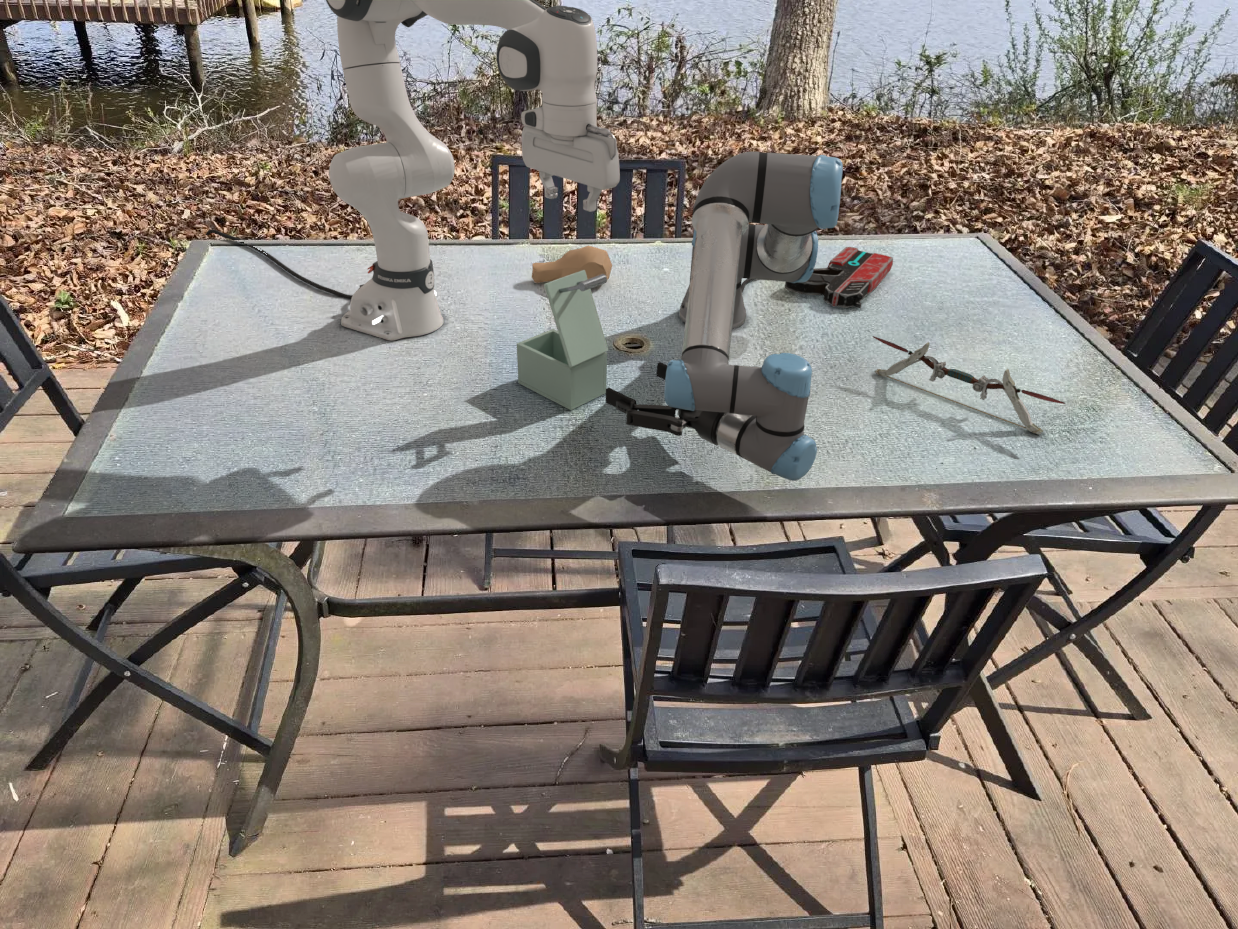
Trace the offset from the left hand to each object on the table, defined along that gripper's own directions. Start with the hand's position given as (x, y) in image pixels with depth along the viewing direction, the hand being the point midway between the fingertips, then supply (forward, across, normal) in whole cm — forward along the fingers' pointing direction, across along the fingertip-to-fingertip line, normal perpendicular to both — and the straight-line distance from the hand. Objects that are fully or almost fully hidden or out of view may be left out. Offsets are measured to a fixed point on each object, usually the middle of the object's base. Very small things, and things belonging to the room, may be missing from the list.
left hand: (570, 203), depth 151 cm
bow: (+37, -55, -51) cm, 84 cm away
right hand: (+28, -16, 0) cm, 33 cm away
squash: (+37, +40, -39) cm, 67 cm away
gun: (+37, -7, -88) cm, 96 cm away
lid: (+21, -1, 0) cm, 21 cm away
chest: (+37, +3, 0) cm, 37 cm away
